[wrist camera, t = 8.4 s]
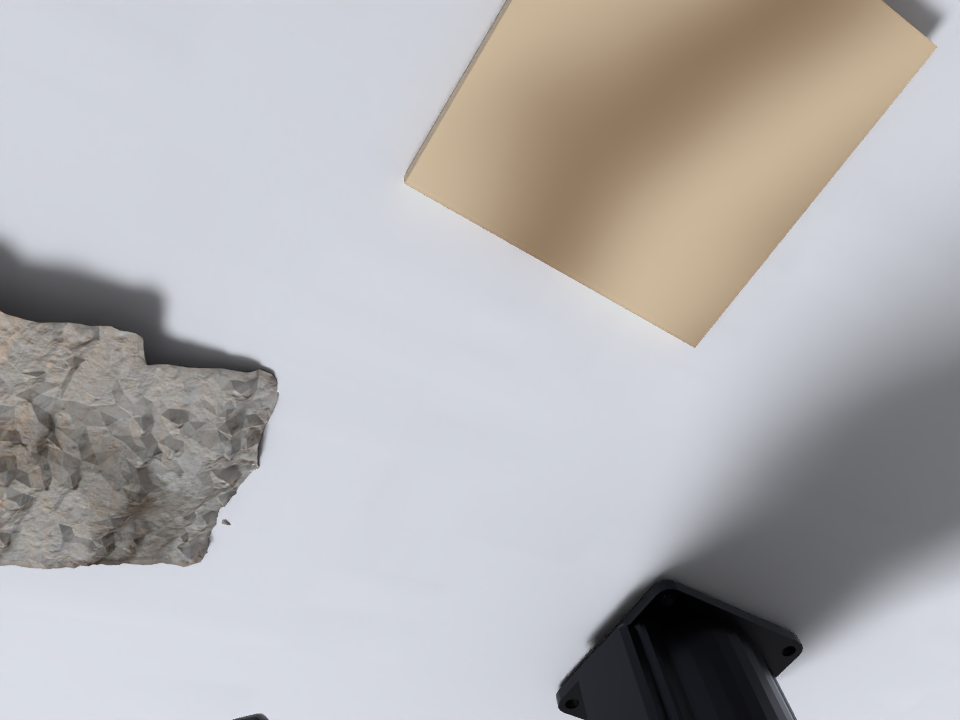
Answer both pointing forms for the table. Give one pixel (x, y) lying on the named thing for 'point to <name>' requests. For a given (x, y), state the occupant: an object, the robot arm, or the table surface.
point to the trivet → (662, 136)
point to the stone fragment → (116, 447)
